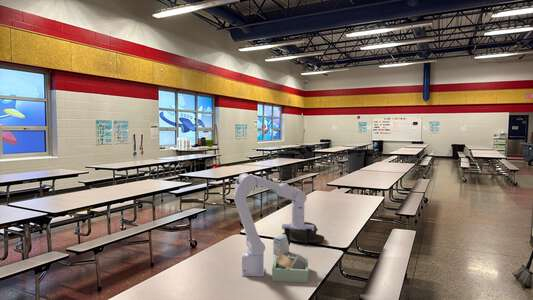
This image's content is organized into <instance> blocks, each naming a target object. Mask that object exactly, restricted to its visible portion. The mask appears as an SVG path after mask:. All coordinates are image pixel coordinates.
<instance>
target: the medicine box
mask: <svg viewBox="0 0 533 300" xmlns="http://www.w3.org/2000/svg"><path fill="white" fill-rule="evenodd" d="M272 243H273V248H272V249H273V251H272V252H273V253H272V254H273V255H275V256H278V255H279V252H280V253H282V254H283V255H286V254H287V253H289V252H290V245H289V244H288V239H287V236H286V235H284V234H283V233H281V234H279V235H276V236H275V237H273V242H272Z"/></svg>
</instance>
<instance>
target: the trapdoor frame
mask: <svg viewBox="0 0 533 300" xmlns="http://www.w3.org/2000/svg"><path fill="white" fill-rule="evenodd" d="M287 257H288V258H289V259H291V260H294V259H295V257H296V256H290V255H287ZM302 257H303V256H302ZM303 258H305V259H306V260H307V264H306V266H305V267H304V269H289V268H288V267H287V269H284V268H278V263H277V260H278V256H277V255H275V256H274V258H273V263H272V267H271V282H287V283H288V282H289V283H306V284H308V283H309V258H308V257H307V256H306V257H305V256H304V257H303Z"/></svg>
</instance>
